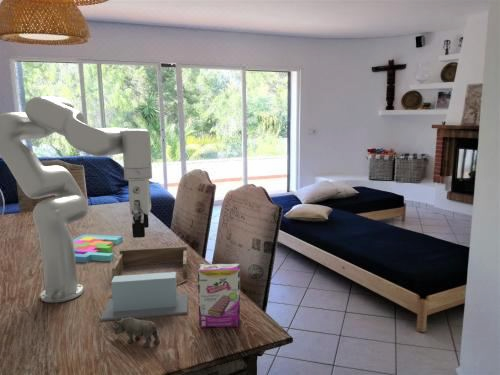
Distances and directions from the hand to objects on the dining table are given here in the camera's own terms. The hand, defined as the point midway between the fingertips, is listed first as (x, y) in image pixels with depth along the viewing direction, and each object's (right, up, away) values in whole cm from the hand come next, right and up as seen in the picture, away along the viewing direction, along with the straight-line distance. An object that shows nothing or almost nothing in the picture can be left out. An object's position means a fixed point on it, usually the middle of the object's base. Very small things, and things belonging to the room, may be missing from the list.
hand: (141, 232), depth 115 cm
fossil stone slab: (-2, -21, +17) cm, 28 cm away
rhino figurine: (+2, -26, -13) cm, 29 cm away
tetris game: (-36, -15, +57) cm, 69 cm away
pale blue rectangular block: (0, -22, +4) cm, 23 cm away
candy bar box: (+23, -25, -6) cm, 34 cm away
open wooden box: (-5, -18, +33) cm, 38 cm away
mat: (+1, -23, +4) cm, 23 cm away
